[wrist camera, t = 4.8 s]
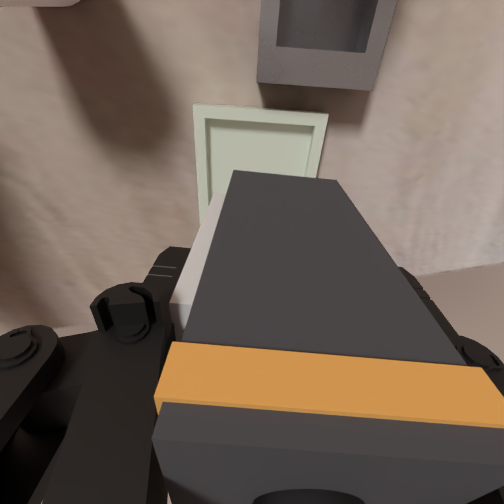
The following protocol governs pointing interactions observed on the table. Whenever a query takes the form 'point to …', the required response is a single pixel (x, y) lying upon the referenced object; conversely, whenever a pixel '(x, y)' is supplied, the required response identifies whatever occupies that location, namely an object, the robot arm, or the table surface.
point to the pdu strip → (323, 42)
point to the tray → (253, 144)
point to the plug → (317, 368)
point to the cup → (37, 3)
